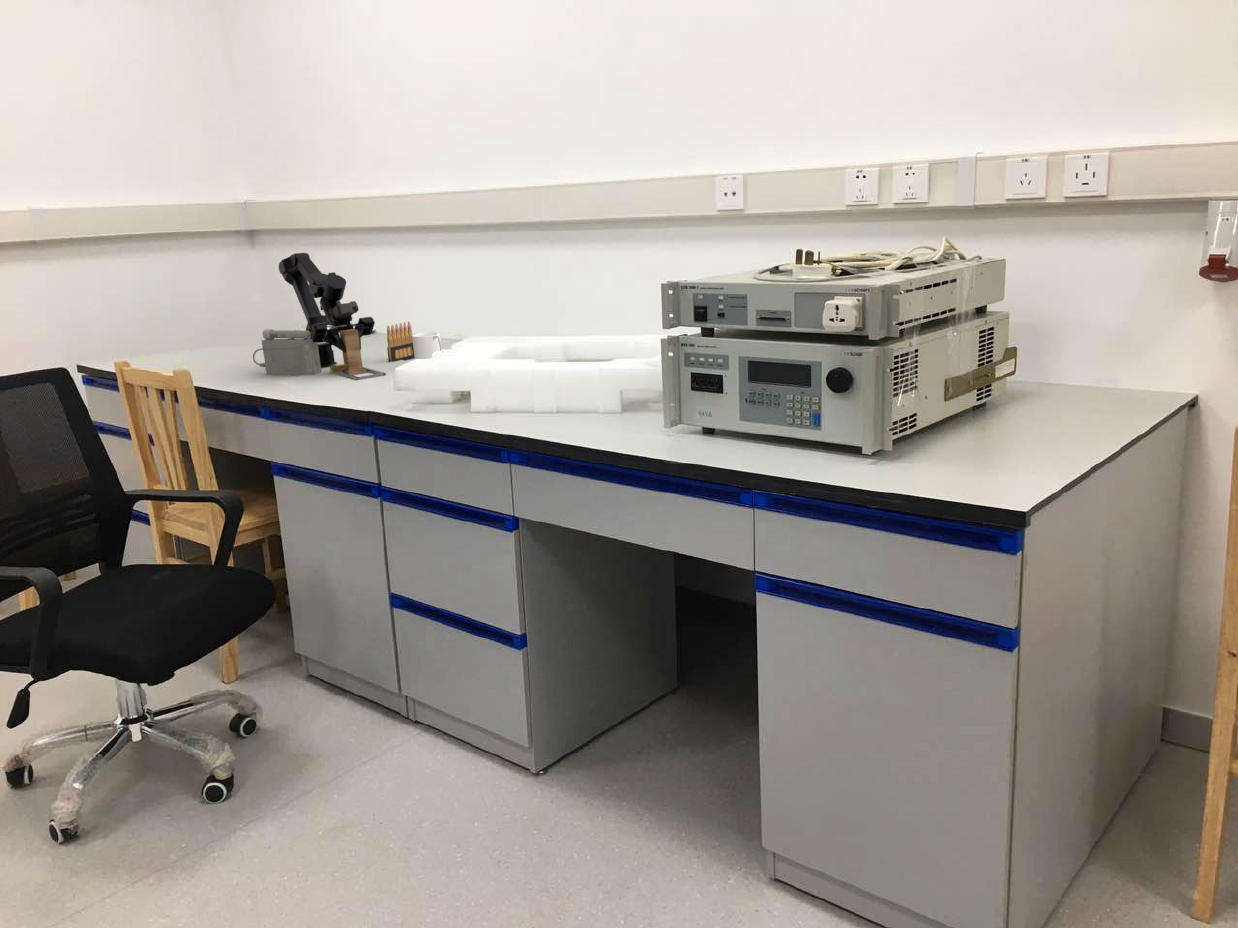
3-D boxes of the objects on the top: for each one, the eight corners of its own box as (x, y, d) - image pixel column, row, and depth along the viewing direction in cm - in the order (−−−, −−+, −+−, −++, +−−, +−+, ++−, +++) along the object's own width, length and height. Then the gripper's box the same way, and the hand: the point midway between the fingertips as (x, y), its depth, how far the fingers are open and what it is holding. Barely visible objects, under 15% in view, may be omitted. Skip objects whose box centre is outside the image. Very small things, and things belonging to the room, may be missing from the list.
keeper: (341, 373, 303) (335, 331, 300) (359, 370, 306) (353, 328, 303) (349, 375, 299) (343, 332, 295) (367, 372, 302) (361, 330, 298)
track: (330, 373, 306) (329, 366, 306) (358, 369, 312) (357, 361, 311) (357, 381, 290) (355, 373, 289) (386, 377, 295) (385, 368, 294)
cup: (432, 371, 299) (428, 338, 296) (410, 368, 308) (406, 335, 305) (455, 367, 304) (452, 334, 302) (433, 364, 313) (429, 331, 310)
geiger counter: (318, 328, 304) (256, 328, 315) (304, 331, 299) (241, 331, 309) (325, 373, 308) (263, 372, 318) (310, 377, 302) (248, 375, 313)
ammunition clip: (392, 363, 319) (387, 325, 316) (388, 363, 320) (383, 325, 317) (417, 357, 327) (412, 320, 324) (413, 357, 328) (408, 320, 325)
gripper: (308, 297, 294) (327, 337, 288) (368, 290, 305) (387, 329, 299) (302, 322, 302) (321, 362, 297) (361, 314, 313) (380, 352, 307)
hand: (353, 350), depth 300 cm, fingers closed on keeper, 4 cm apart
